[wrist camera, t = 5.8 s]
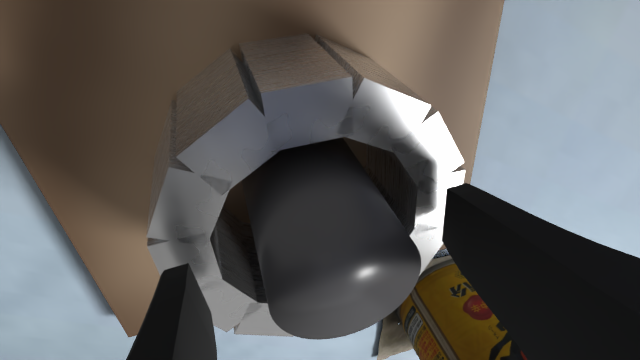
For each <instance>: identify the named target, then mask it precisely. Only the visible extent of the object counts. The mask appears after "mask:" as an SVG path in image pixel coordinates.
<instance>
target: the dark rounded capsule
mask: <svg viewBox="0 0 640 360" xmlns="http://www.w3.org/2000/svg"><path fill="white" fill-rule="evenodd" d="M241 181H242V186H243V190H244V195H245V200H246V204H247V209H248V214H249V219H250V223H251V228H252V233H253V237H254V242H255V247H256V251H257V256H258V261H259V265H260V270H261V275H262V280H263V284H264V289H265V294H266V298H267V303H268V308H269V312H270V315H271V317H272V319H273V321H274V322H275V323H276V325H277V326H279V327H280V328H281V329H282V330H284V331H285V332H287V333H289V334H291V335H294V336H297V337H301V338H306V339H330V338H337V337H341V336H346V335H349V334H352V333H355V332H358V331H361V330H363V329H365V328H367V327H369V326H371V325H373V324H375V323H377V322H379V321H380V320H382V319H383V318H385V317H386V316H388V315H389V314H390V313H392V312H393V311H394V310H395V309H396V308H398V307H399V306H400V305H401V304H402V303H403V302H404V300H405V299H406V298H407V297H408V296H409V294H410V293H411V292H412V290H413V288H414V287H415V285H416V283H417V280H418V278H419V275H420V271H421V256H420V252H419V250H418V248H417V246H416V245H415V243H414V242H413V240H412V239H411V237H410V236H409V234H408V233H407V231H406V230H405V228H404V227H403V225H402V224H401V222H400V221H399V219H398V218H397V217H396V215H395V214H394V212H393V211H392V209H391V208H390V206H389V205H388V203H387V202H386V200H385V199H384V197H383V196H382V194H381V193H380V191H379V190H378V189H377V187H376V186H375V184H374V183H373V181H372V180H371V178H370V177H369V175H368V174H367V172H366V171H365V169H364V168H363V166H362V165H361V163H360V162H359V161H358V159H357V158H356V156H355V155H354V153H353V152H352V150H351V149H350V147H349V146H348V144H347V143H346V141H345V140H344V138H343V137H341V138H336V139H331V140H326V141H322V142H317V143H312V144H307V145H302V146H298V147H293V148H288V149H283V150H280V151H279V152H278V153H276V154H275V155H274V156H272V157H271V158H270V159H269V160H267V161H266V162H265V163H263V164H262V165H261V166H259V167H258V168H257V169H256V170H254V171H253V172H252V173H250V174H249V175H248V176H247V177H245V178H244V179H243V180H241Z"/></svg>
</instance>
